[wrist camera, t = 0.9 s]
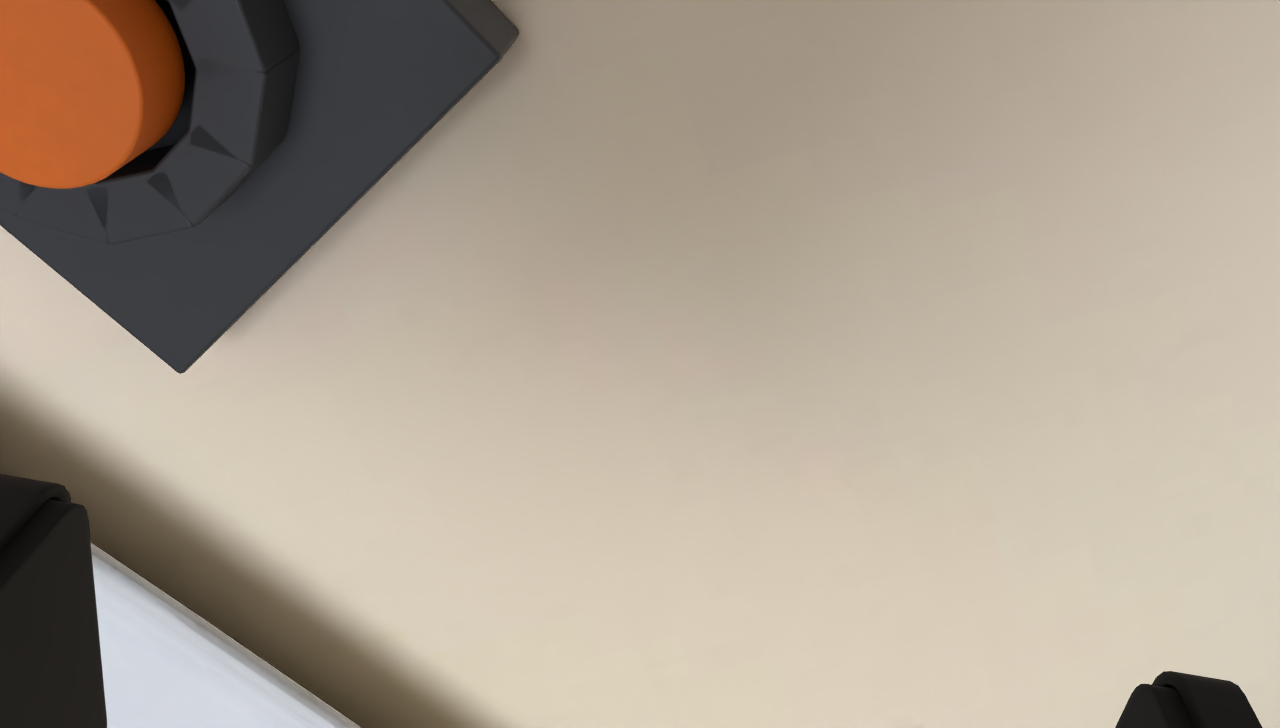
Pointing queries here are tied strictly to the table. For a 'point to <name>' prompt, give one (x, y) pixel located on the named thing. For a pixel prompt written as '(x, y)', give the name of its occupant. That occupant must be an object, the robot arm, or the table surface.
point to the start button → (84, 87)
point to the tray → (186, 665)
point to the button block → (255, 155)
